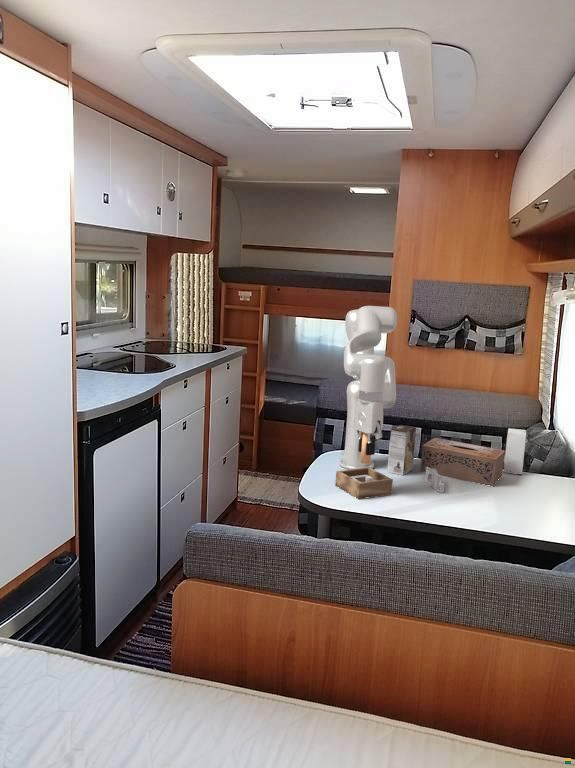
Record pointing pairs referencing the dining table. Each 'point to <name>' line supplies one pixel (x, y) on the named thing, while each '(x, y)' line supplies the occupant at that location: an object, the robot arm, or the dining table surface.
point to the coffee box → (401, 449)
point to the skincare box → (515, 451)
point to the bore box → (363, 482)
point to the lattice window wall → (434, 479)
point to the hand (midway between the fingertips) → (366, 452)
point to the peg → (365, 458)
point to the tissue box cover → (463, 461)
